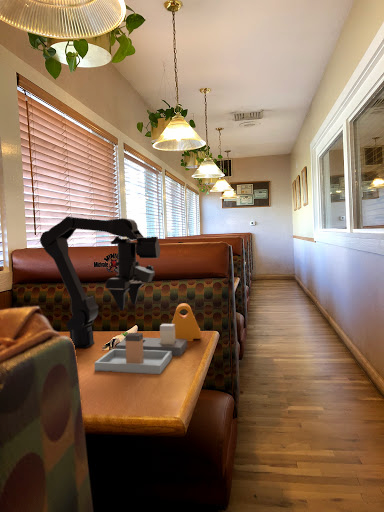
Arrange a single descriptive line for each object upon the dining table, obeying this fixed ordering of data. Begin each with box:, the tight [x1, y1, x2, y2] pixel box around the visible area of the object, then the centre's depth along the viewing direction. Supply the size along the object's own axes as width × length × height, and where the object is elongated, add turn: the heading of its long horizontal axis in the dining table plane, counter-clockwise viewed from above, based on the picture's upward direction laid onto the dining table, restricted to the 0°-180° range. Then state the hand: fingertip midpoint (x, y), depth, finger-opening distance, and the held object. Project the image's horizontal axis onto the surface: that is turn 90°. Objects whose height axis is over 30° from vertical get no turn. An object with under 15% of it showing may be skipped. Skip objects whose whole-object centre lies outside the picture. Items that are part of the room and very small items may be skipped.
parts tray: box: [94, 348, 173, 375], centre depth 102 cm, size 18×12×2 cm, turn 79°
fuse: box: [159, 323, 175, 345], centre depth 114 cm, size 4×3×8 cm
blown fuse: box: [124, 332, 144, 364], centre depth 102 cm, size 4×3×8 cm
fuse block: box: [115, 337, 188, 357], centre depth 115 cm, size 20×9×2 cm, turn 79°
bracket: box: [171, 302, 202, 342], centre depth 127 cm, size 11×7×12 cm, turn 92°
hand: (128, 307), depth 118 cm, fingers open, 9 cm apart
